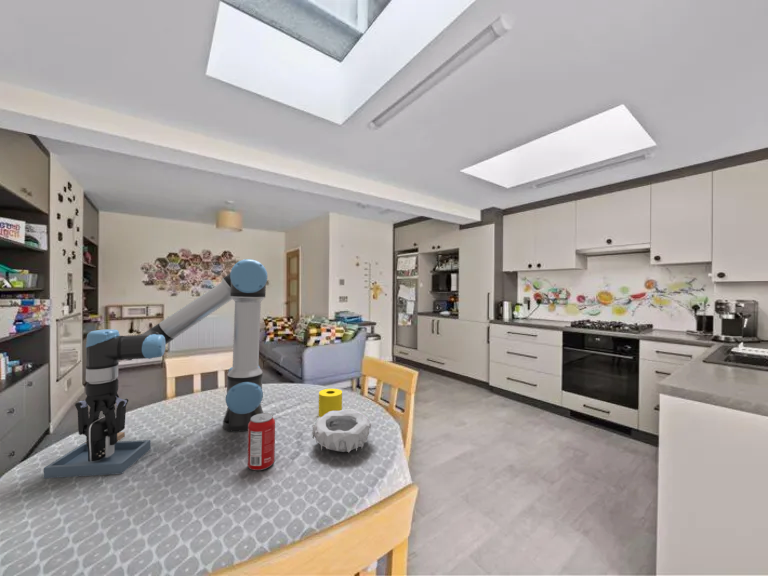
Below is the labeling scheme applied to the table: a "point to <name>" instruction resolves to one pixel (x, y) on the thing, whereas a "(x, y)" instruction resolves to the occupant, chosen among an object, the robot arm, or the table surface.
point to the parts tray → (114, 464)
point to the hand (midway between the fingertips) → (101, 455)
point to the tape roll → (329, 401)
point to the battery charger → (97, 439)
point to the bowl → (342, 430)
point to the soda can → (261, 441)
